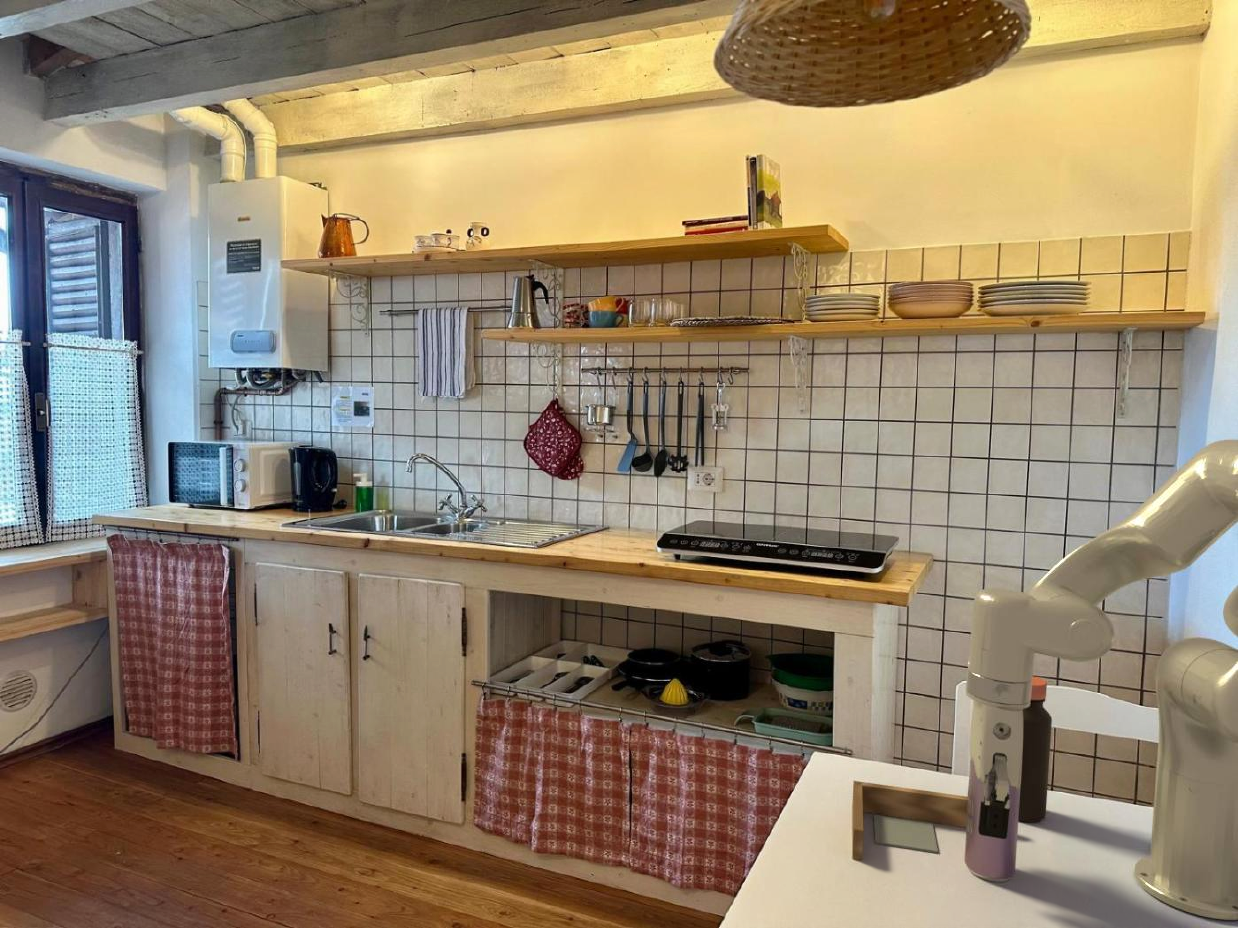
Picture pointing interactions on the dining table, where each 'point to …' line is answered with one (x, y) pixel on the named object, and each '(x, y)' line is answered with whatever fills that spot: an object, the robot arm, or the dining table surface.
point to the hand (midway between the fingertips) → (986, 817)
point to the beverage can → (985, 852)
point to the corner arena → (903, 807)
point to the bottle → (1035, 756)
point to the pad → (905, 833)
